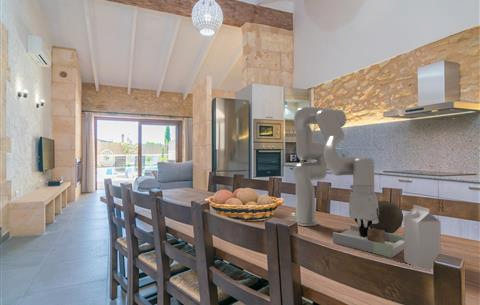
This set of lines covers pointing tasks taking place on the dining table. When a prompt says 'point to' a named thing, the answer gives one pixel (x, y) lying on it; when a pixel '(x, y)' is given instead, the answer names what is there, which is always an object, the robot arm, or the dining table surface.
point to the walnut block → (376, 235)
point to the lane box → (370, 242)
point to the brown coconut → (388, 217)
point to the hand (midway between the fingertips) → (364, 236)
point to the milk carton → (421, 237)
